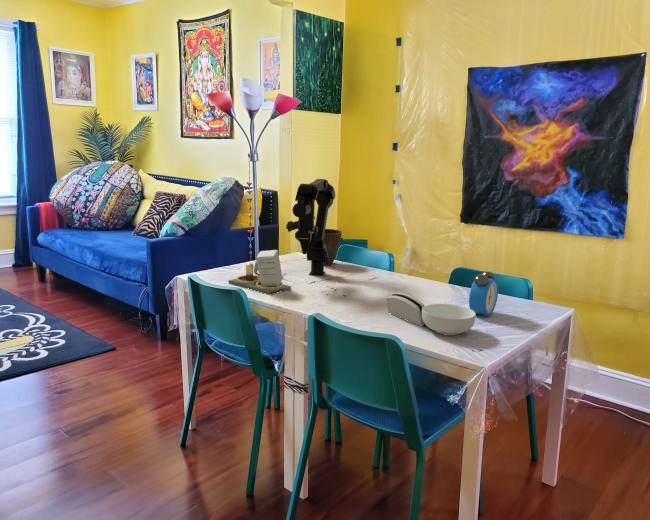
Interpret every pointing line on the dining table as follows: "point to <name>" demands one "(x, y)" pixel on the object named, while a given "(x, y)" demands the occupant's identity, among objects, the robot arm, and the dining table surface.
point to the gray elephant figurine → (256, 267)
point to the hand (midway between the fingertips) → (306, 252)
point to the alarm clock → (483, 294)
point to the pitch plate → (256, 282)
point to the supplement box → (269, 268)
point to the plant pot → (332, 244)
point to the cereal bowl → (448, 318)
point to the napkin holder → (406, 307)
